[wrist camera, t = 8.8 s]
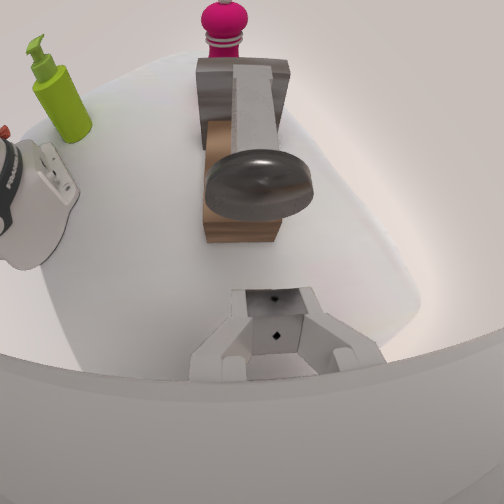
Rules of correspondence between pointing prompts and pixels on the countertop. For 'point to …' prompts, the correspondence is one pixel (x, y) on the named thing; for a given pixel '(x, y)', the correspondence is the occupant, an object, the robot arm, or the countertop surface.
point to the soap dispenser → (58, 95)
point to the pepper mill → (224, 27)
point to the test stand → (219, 136)
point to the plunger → (256, 158)
